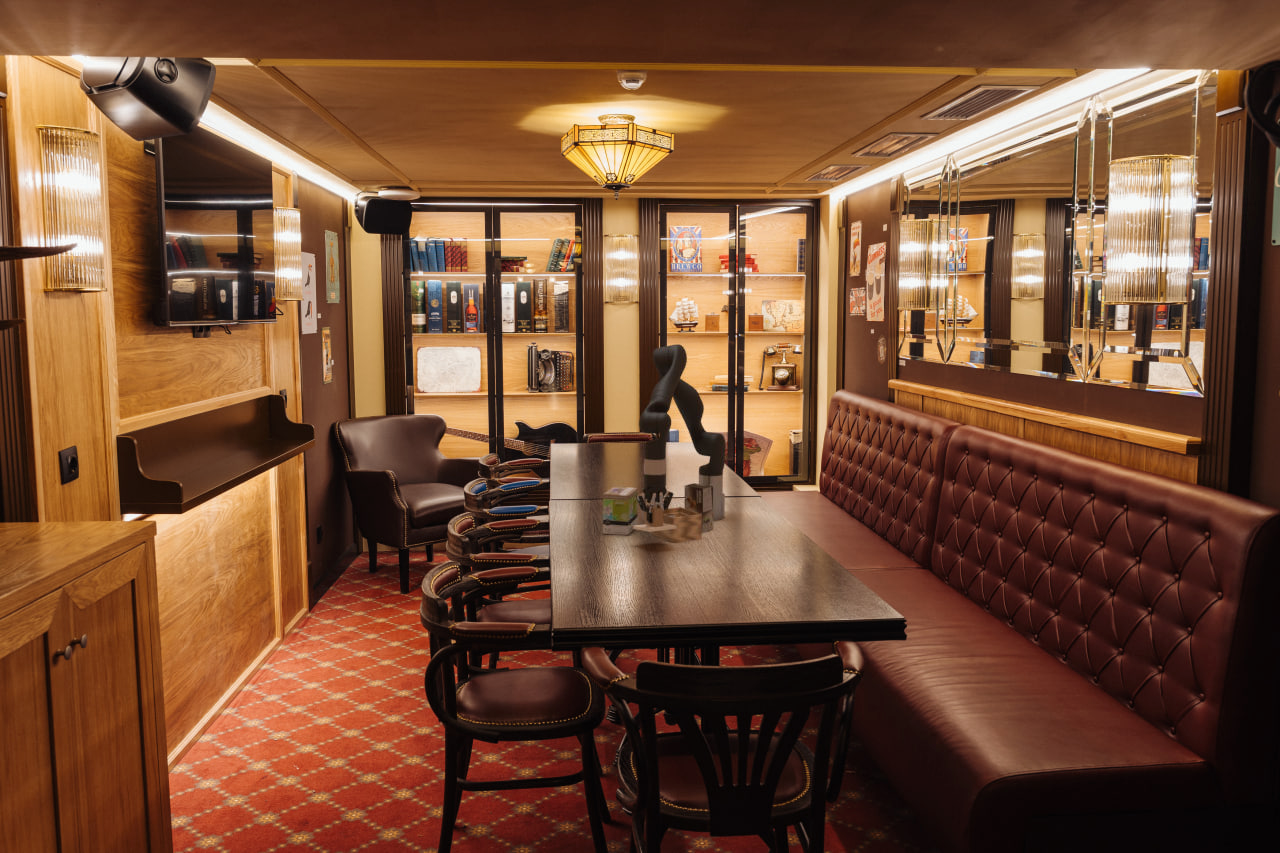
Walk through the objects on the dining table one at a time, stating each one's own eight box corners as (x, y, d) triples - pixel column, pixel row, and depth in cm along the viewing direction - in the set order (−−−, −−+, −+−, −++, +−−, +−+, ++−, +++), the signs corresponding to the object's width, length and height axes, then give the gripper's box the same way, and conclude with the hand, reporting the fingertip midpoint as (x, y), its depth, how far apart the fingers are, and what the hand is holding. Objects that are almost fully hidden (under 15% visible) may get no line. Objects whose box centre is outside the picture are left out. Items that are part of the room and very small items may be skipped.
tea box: (629, 535, 313) (629, 494, 311) (602, 534, 315) (601, 493, 313) (638, 525, 328) (638, 486, 326) (611, 524, 330) (611, 485, 328)
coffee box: (713, 529, 323) (714, 486, 321) (702, 532, 318) (703, 488, 316) (694, 525, 329) (694, 482, 327) (683, 528, 324) (683, 485, 322)
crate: (680, 530, 321) (681, 507, 320) (701, 538, 309) (701, 514, 308) (652, 534, 315) (652, 510, 314) (672, 542, 303) (672, 518, 302)
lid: (658, 525, 304) (657, 505, 304) (676, 528, 294) (675, 507, 294) (633, 528, 300) (632, 508, 300) (650, 531, 289) (649, 510, 289)
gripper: (667, 468, 301) (667, 518, 303) (631, 471, 294) (630, 522, 296) (678, 472, 295) (678, 522, 297) (641, 475, 288) (641, 527, 290)
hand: (654, 522), depth 297 cm, fingers closed on lid, 3 cm apart
